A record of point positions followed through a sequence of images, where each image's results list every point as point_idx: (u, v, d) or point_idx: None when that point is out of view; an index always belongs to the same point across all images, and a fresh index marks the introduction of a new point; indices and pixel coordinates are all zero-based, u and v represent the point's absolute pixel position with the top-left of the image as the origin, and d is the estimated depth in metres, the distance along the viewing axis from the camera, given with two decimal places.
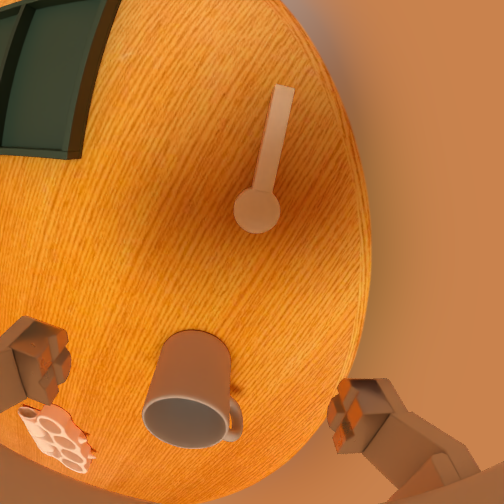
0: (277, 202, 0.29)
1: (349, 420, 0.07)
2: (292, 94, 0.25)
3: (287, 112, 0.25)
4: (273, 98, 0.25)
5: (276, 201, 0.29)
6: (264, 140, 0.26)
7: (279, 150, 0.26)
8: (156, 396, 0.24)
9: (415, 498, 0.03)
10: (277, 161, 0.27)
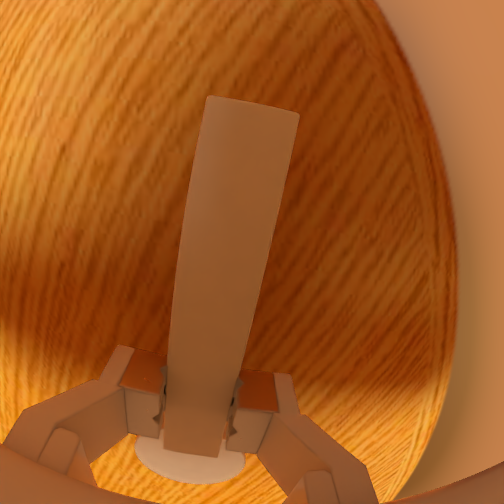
0: None
1: None
2: (287, 144, 0.06)
3: (262, 233, 0.06)
4: (197, 168, 0.06)
5: None
6: (172, 346, 0.07)
7: (231, 375, 0.07)
8: None
9: (415, 498, 0.03)
10: (226, 402, 0.07)
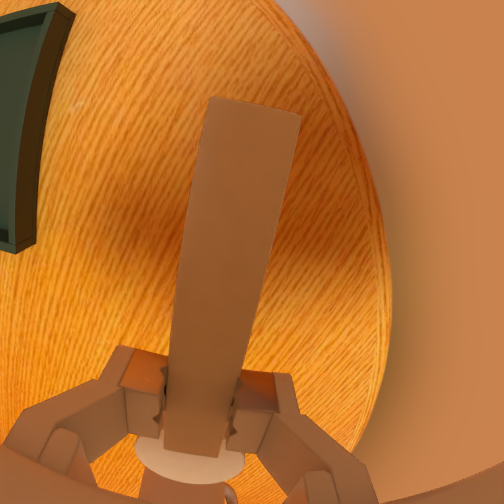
0: None
1: None
2: (289, 145, 0.06)
3: (264, 234, 0.06)
4: (199, 169, 0.06)
5: None
6: (173, 346, 0.07)
7: (232, 375, 0.07)
8: None
9: (415, 498, 0.03)
10: (226, 402, 0.07)
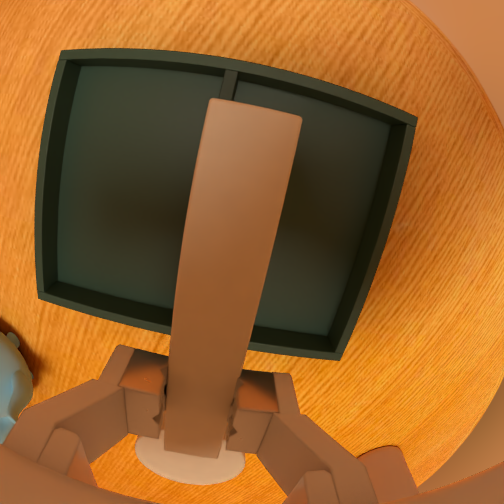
0: (237, 452, 0.10)
1: None
2: (289, 147, 0.06)
3: (264, 236, 0.06)
4: (199, 171, 0.06)
5: None
6: (174, 348, 0.07)
7: (232, 377, 0.07)
8: None
9: (415, 498, 0.03)
10: (227, 404, 0.07)
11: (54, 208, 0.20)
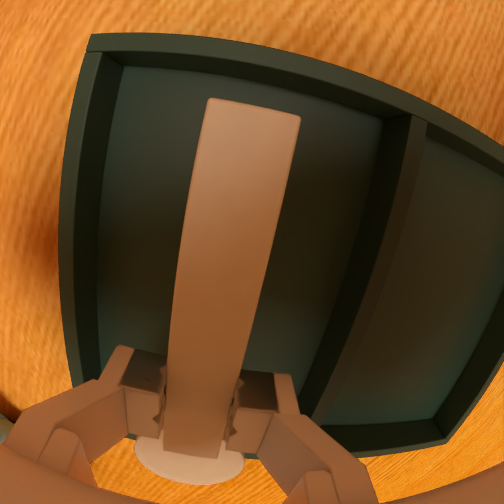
0: (236, 452, 0.10)
1: None
2: (288, 147, 0.06)
3: (262, 236, 0.06)
4: (197, 171, 0.06)
5: (233, 451, 0.10)
6: (172, 348, 0.07)
7: (231, 377, 0.07)
8: None
9: (415, 498, 0.03)
10: (225, 404, 0.07)
11: (92, 309, 0.13)
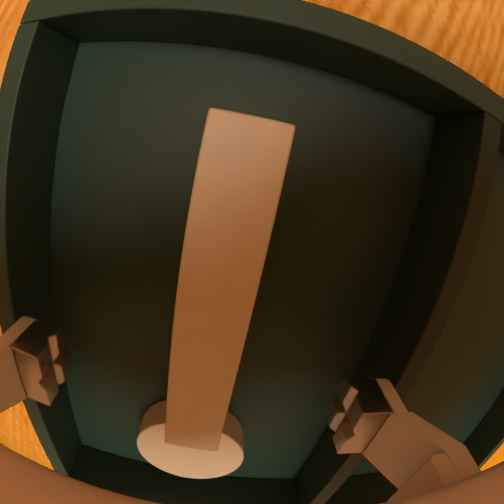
0: (235, 446, 0.10)
1: (349, 420, 0.07)
2: (283, 154, 0.06)
3: (260, 237, 0.07)
4: (199, 177, 0.06)
5: (233, 444, 0.10)
6: (175, 342, 0.07)
7: (230, 370, 0.08)
8: None
9: (415, 498, 0.03)
10: (225, 397, 0.08)
11: None
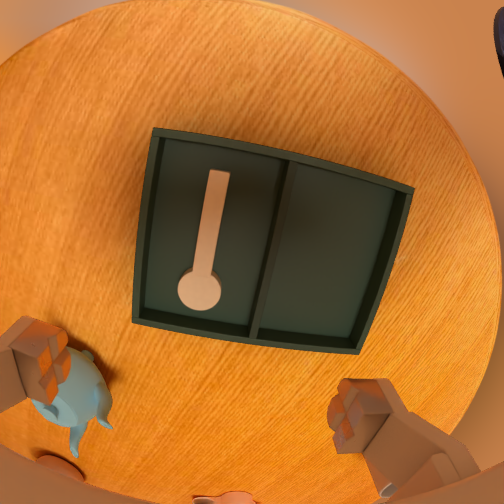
0: (217, 283, 0.30)
1: (349, 420, 0.07)
2: (227, 180, 0.26)
3: (222, 199, 0.27)
4: (208, 185, 0.27)
5: (216, 282, 0.30)
6: (200, 229, 0.28)
7: (215, 238, 0.28)
8: None
9: (415, 498, 0.03)
10: (213, 249, 0.28)
11: (147, 252, 0.30)
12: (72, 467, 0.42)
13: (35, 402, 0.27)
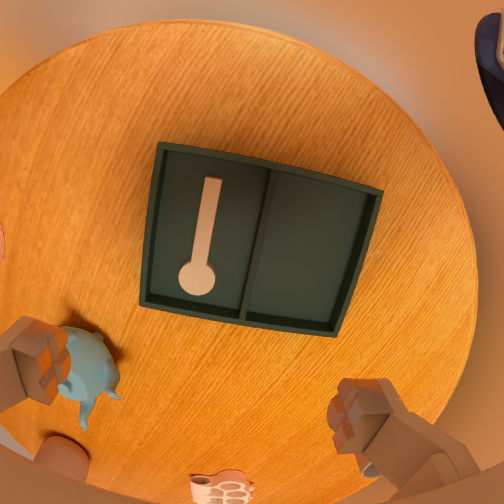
0: (212, 272, 0.36)
1: (349, 420, 0.07)
2: (219, 185, 0.32)
3: (215, 202, 0.32)
4: (203, 190, 0.32)
5: (211, 271, 0.36)
6: (197, 226, 0.33)
7: (209, 234, 0.34)
8: None
9: (415, 498, 0.03)
10: (208, 243, 0.34)
11: (153, 246, 0.35)
12: (78, 447, 0.49)
13: None
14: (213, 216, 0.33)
